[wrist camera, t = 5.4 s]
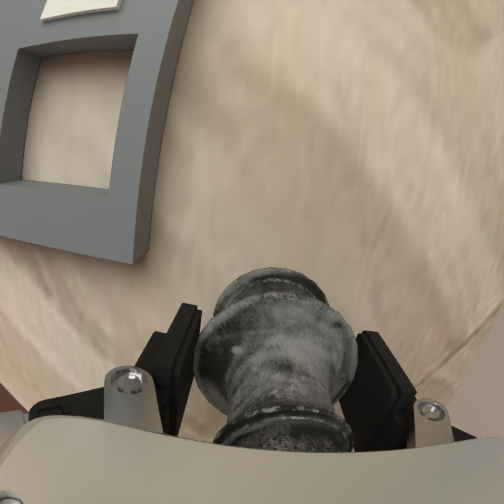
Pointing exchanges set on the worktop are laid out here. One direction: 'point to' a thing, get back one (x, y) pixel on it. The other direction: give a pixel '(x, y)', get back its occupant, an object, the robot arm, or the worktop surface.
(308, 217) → the worktop surface
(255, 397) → the salt shaker
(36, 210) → the socket board
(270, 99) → the worktop surface
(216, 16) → the worktop surface
